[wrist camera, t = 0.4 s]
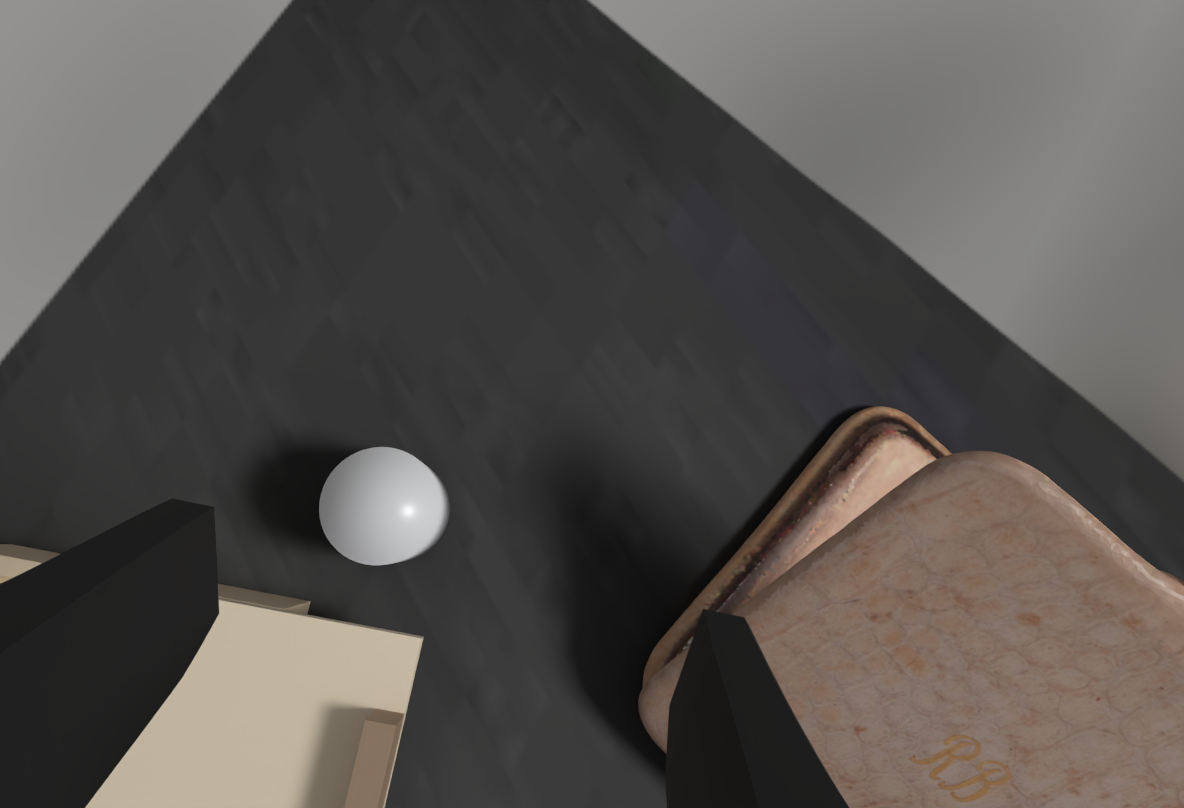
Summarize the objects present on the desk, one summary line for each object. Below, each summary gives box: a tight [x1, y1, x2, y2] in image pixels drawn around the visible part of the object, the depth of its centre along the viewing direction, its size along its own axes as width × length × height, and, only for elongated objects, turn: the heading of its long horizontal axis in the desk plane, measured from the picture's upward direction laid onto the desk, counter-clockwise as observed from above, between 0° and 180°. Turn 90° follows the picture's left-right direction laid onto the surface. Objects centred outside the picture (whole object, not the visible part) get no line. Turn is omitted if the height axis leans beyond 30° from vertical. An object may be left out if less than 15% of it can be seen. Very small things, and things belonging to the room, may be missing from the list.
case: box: [638, 406, 1184, 808], centre depth 30 cm, size 20×21×16 cm
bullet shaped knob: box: [319, 447, 450, 565], centre depth 34 cm, size 5×5×5 cm
